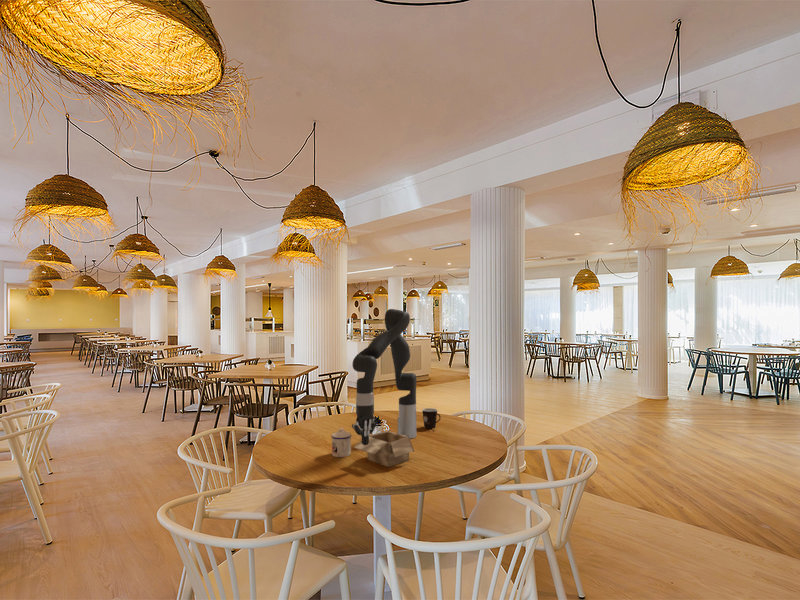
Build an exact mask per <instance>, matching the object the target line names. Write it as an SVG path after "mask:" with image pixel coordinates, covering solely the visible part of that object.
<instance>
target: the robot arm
mask: <svg viewBox="0 0 800 600" xmlns="http://www.w3.org/2000/svg"><path fill="white" fill-rule="evenodd" d="M410 317H411V316H410V314H409V312H408V311H405V310H401V309H395V308H390V309H387V310H386V312H385V314H384V326H385V329H386V330H385V331H384V332H382V333H380V334H378V335H376V337H374V338H373V339H372V341H371V342H370V343H369V344H368V346H367V347H366V348H364V349H363V350H361V351H359V353H357V355H355V357H354V358H353V360H352V369H353V370H354V371H355V372H357V373H364V376H363V377H360V378H358V379H357V380H356V395H355V414H356V420H355V423H353V424H351V428H352V429H353V431H354V432H355V433H356V434H357V435H358V436H360V437H361V441H362V444H363V445H368V443H369V435H372V434H374V430H375V429H376V426H377V424H378V423H379V420H377V419H375V417H374V413H375V395H374V381H375V376H376V374H377V373H376V371H377V369H378V362H377V360H378V359H379V358H381V356H382V355H383V354H384V352H385V351H386V350H387V348H388V347H389V346H390V351H391V353H390V354H391V357H392V358H391V359H392V362H393V368H394V376H395V377H394V378H395V379H394V380H395V386H396V388H397V390H398V391H403V392H404V391H409V393H408V394H406V395H404V396H400V397H398V416H397V433H398V434H402V435H405V436H409V438H410V439H414V438H416V437H417V375H416V373H413V372H402V371H403V370H404V368H405V367H406V366H407V364H408V362H410V358H411V352H410V345H409V343H408V342H407V340H406V338H405V337H404V336H403V335H402V333H404V332H405V331H406V330H407V328H408V326H409V325H410V323H411V318H410Z"/></svg>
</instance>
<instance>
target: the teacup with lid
mask: <svg viewBox="0 0 800 600" xmlns="http://www.w3.org/2000/svg"><path fill="white" fill-rule="evenodd" d="M351 454H352V434H351V433H350V432H349V431H346V430H345V429H344V428H339V429H338V430H337V431H336V432H332V434H331V455H332V456H333V457H335V458H346V457H348V456H349V457H350V456H351ZM345 456H346V457H345Z"/></svg>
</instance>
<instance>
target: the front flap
mask: <svg viewBox="0 0 800 600" xmlns="http://www.w3.org/2000/svg"><path fill="white" fill-rule="evenodd" d="M386 444H387V442H385V441H382V440H379V439H375V438H372V437H369V443H368V445H363V444H362V440H360V441H359V442H358V443H357V444H355V445H354V446H353V448H354V449H357V450H360V451H363V452H365V453H367V452H368V453H371V454H374V455H375V454H376V453H377V452H378V451H379V450H380V449H381V448H382V447H383V446H385V445H386Z"/></svg>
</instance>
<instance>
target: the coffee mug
mask: <svg viewBox="0 0 800 600" xmlns="http://www.w3.org/2000/svg"><path fill="white" fill-rule="evenodd" d="M421 413H422V418H423V419H422V421H423V427H425V428H424V429H426V428H428V429H427V430H433V429H432V428H434V429H436V428H435V427H437V423H438V422H440V421H441V415H440V414H439V413H438V409H437V408H432V407H429V408H428V407H427V408H423V409H422V412H421ZM437 415H438V416H437ZM437 417H439V419H438V420H437Z"/></svg>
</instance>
